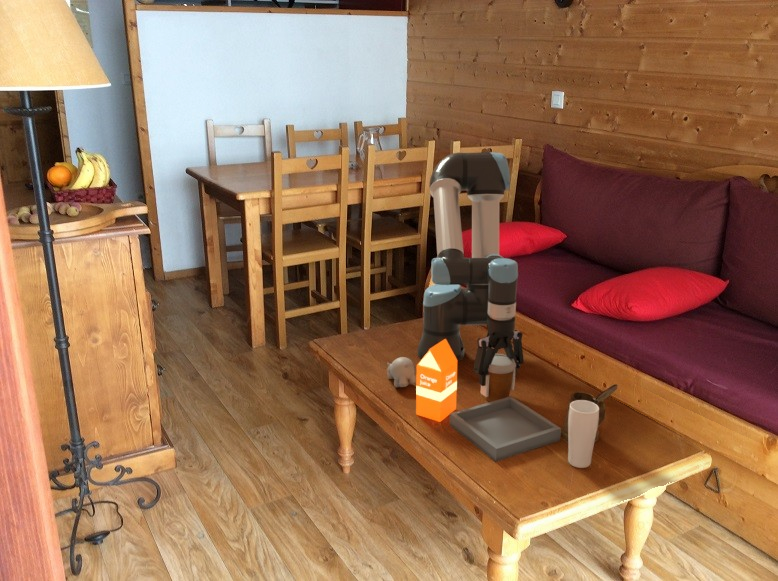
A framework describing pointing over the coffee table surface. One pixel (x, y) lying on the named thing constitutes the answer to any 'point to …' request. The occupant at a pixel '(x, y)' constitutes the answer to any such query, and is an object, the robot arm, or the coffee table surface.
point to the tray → (504, 428)
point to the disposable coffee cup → (500, 377)
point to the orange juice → (437, 383)
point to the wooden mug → (589, 397)
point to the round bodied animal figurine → (402, 372)
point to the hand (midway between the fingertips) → (497, 391)
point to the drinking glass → (582, 432)
